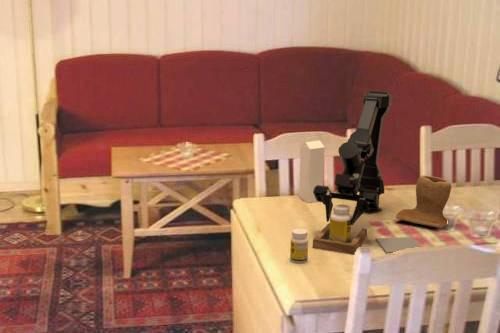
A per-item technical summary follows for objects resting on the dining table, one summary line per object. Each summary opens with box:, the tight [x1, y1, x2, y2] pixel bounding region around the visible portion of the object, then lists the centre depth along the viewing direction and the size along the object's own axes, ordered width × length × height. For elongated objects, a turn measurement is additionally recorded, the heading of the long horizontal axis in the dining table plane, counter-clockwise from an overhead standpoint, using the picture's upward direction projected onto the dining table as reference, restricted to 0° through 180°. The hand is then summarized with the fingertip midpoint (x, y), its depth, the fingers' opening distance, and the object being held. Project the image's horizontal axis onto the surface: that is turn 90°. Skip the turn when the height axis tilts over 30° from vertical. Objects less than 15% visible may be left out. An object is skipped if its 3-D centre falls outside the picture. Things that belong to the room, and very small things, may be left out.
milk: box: [298, 135, 326, 204], centre depth 253 cm, size 6×6×22 cm
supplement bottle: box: [289, 228, 309, 264], centre depth 202 cm, size 5×5×8 cm
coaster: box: [375, 236, 422, 255], centre depth 214 cm, size 11×11×1 cm
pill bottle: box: [328, 203, 352, 243], centre depth 215 cm, size 6×6×11 cm
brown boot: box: [395, 175, 452, 228], centre depth 232 cm, size 15×12×15 cm
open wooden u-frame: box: [312, 222, 368, 255], centre depth 216 cm, size 15×12×2 cm
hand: (339, 222), depth 213 cm, fingers open, 7 cm apart
